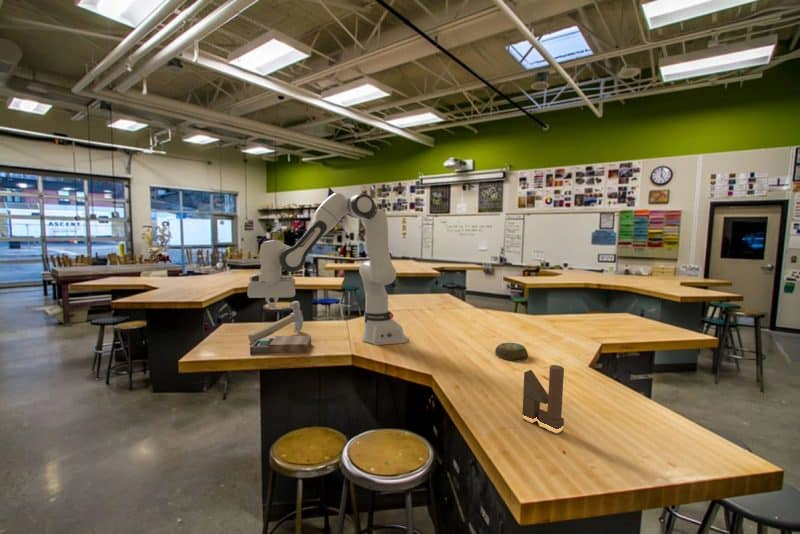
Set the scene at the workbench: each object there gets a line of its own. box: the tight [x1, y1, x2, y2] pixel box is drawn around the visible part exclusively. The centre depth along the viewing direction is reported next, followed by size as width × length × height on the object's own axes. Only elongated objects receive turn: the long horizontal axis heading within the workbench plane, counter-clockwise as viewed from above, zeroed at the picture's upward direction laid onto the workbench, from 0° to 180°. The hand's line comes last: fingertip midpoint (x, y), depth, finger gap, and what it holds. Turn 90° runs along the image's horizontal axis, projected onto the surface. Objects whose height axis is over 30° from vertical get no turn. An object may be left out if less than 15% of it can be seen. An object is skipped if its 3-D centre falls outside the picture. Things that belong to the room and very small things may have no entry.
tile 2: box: [259, 337, 272, 345], centre depth 168 cm, size 4×4×2 cm
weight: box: [494, 342, 529, 361], centre depth 163 cm, size 14×13×5 cm
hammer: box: [247, 300, 304, 345], centre depth 187 cm, size 16×5×30 cm
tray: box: [249, 337, 275, 355], centre depth 168 cm, size 8×13×3 cm, turn 5°
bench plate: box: [268, 335, 312, 355], centre depth 169 cm, size 16×13×4 cm
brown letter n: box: [521, 364, 565, 429], centre depth 104 cm, size 4×11×18 cm, turn 39°
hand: (272, 307), depth 167 cm, fingers closed
